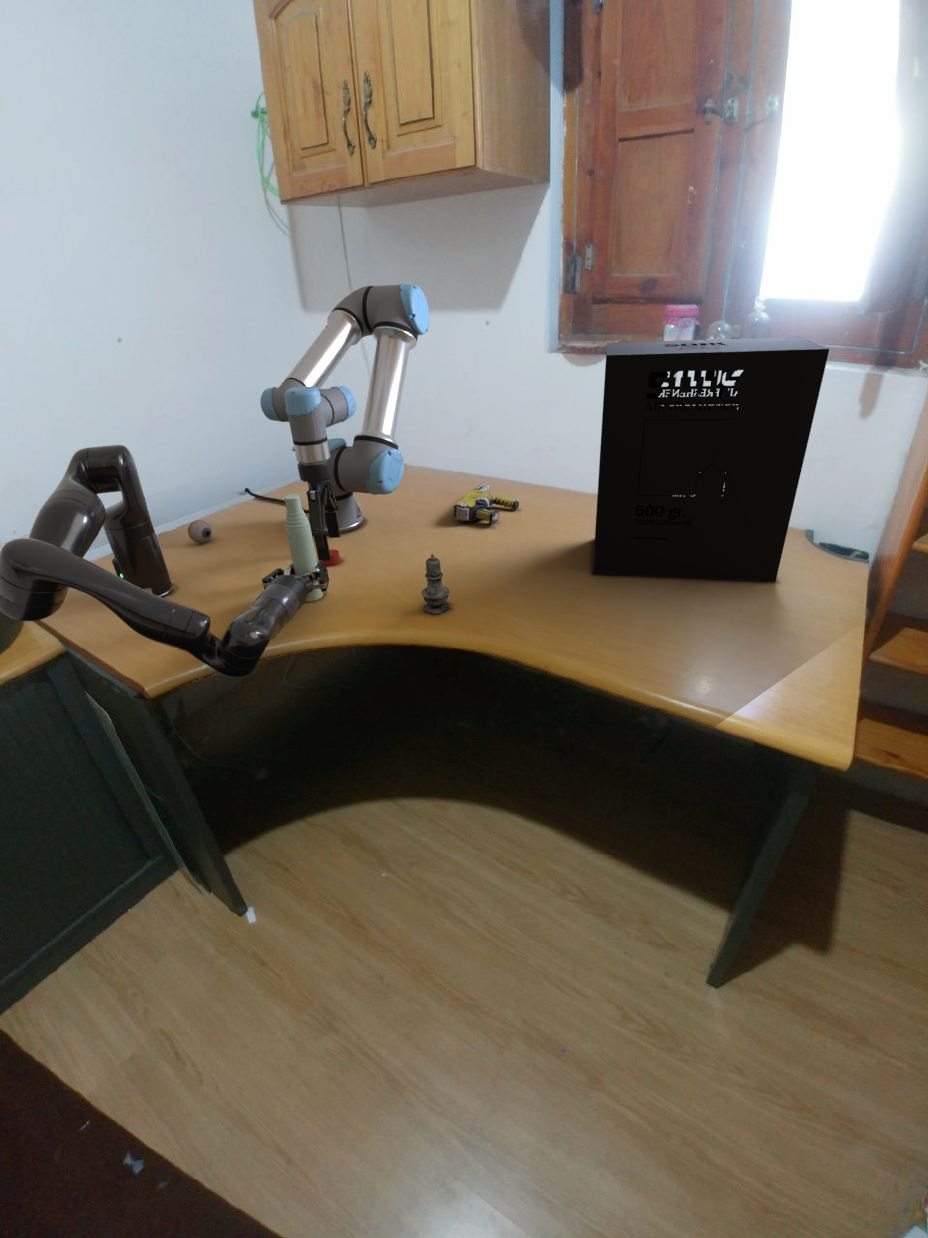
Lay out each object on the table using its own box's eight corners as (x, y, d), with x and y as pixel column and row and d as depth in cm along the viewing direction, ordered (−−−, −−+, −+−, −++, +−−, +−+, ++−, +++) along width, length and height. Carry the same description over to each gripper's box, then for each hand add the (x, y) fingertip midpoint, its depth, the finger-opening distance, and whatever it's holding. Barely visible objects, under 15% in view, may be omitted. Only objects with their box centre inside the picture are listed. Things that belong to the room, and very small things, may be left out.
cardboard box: (755, 543, 144) (798, 336, 121) (775, 581, 127) (829, 348, 104) (594, 538, 151) (606, 342, 129) (592, 573, 134) (606, 355, 112)
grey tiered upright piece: (447, 614, 122) (443, 560, 116) (419, 613, 123) (413, 559, 117) (453, 601, 127) (450, 548, 121) (426, 599, 128) (421, 547, 122)
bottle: (318, 601, 130) (299, 500, 119) (297, 601, 130) (275, 500, 119) (326, 591, 134) (307, 492, 123) (304, 591, 135) (284, 492, 123)
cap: (340, 564, 146) (339, 554, 145) (323, 567, 145) (321, 557, 144) (339, 557, 150) (338, 548, 148) (322, 560, 149) (321, 550, 148)
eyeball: (201, 547, 160) (195, 526, 157) (186, 543, 163) (180, 522, 160) (220, 539, 164) (214, 518, 161) (205, 536, 167) (199, 515, 164)
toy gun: (527, 488, 179) (479, 481, 183) (505, 513, 159) (452, 504, 162) (525, 503, 181) (478, 496, 185) (503, 529, 161) (451, 520, 165)
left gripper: (249, 617, 120) (283, 579, 134) (318, 619, 118) (345, 580, 132) (240, 583, 116) (276, 548, 131) (311, 585, 114) (339, 548, 128)
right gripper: (308, 447, 146) (324, 529, 157) (283, 478, 124) (303, 571, 135) (339, 445, 146) (352, 527, 156) (320, 476, 124) (336, 569, 135)
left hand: (310, 564), depth 131 cm, fingers closed on bottle, 5 cm apart
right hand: (329, 548), depth 146 cm, fingers open, 13 cm apart
